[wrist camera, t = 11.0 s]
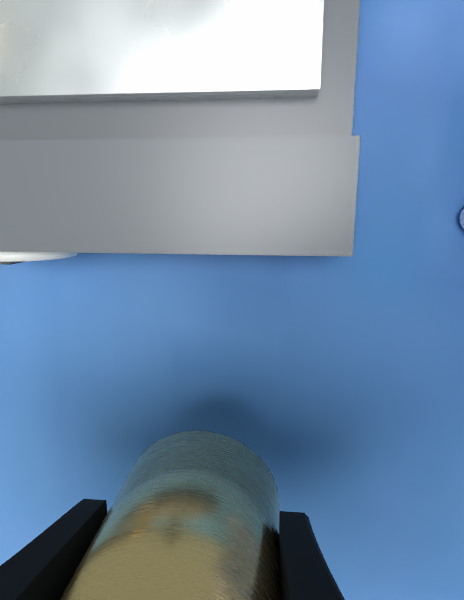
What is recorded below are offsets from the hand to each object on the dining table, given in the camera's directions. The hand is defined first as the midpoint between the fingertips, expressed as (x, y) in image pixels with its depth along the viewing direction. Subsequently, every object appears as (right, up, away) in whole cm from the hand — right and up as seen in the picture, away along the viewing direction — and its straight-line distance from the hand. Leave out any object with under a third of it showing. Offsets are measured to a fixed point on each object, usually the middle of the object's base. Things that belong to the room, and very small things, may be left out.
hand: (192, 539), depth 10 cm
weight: (0, 0, +1) cm, 2 cm away
